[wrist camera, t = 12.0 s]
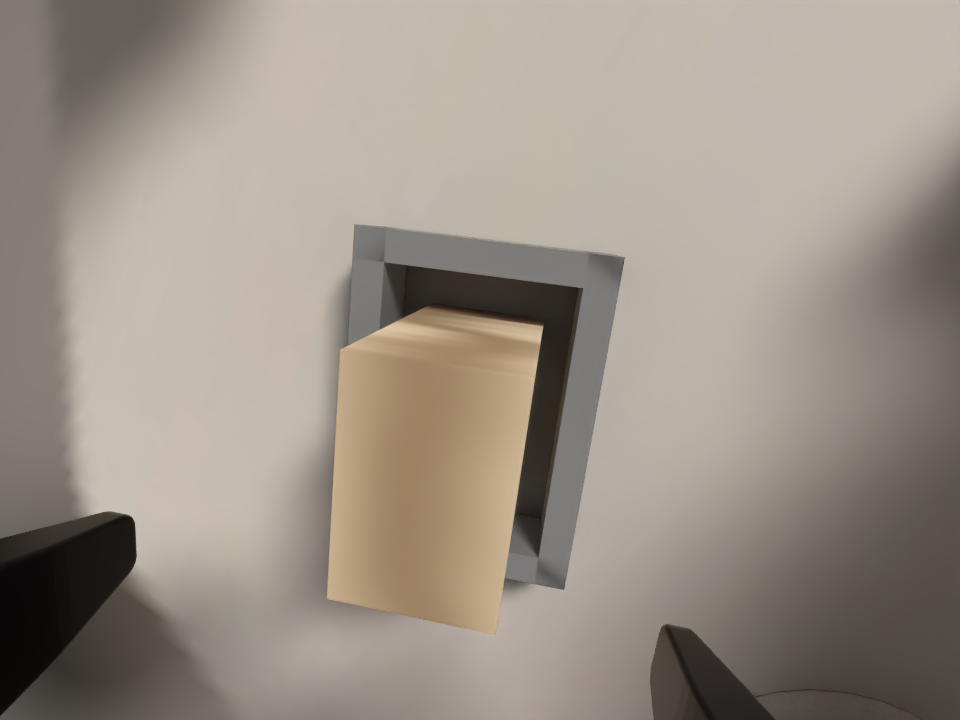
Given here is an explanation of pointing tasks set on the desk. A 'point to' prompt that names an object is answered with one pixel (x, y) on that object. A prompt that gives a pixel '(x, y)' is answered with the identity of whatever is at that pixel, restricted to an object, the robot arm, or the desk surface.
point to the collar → (549, 540)
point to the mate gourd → (829, 706)
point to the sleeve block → (431, 463)
